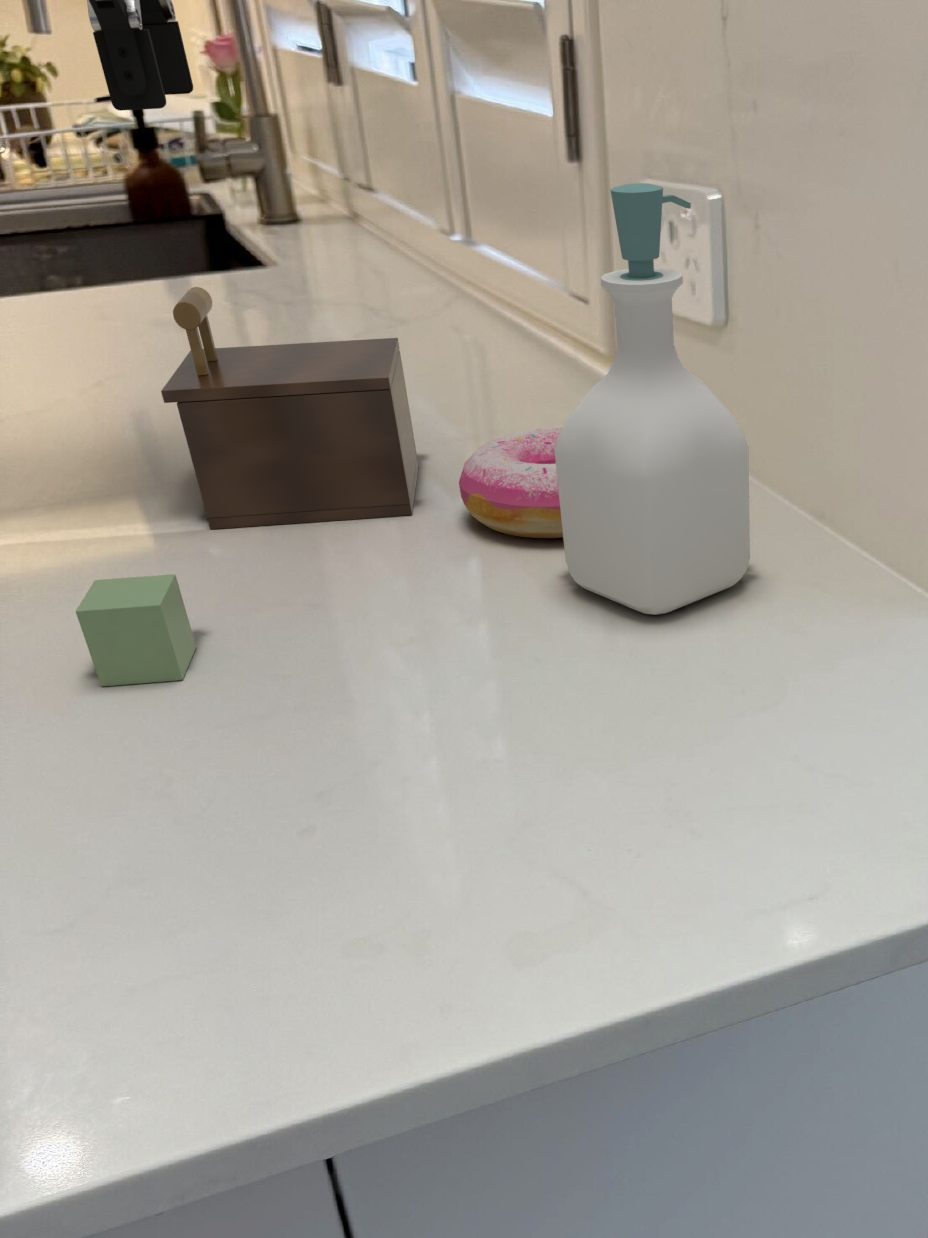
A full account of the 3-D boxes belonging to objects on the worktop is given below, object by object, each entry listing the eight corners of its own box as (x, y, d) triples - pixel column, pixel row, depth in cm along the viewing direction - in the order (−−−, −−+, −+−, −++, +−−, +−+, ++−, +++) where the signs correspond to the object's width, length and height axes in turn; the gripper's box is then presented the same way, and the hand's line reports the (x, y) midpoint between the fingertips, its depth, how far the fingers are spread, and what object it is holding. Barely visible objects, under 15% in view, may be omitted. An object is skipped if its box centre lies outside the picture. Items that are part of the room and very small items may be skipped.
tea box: (209, 529, 96) (176, 403, 91) (234, 478, 105) (204, 361, 100) (412, 515, 98) (390, 390, 92) (418, 466, 107) (399, 349, 101)
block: (101, 687, 76) (75, 611, 73) (118, 653, 80) (94, 579, 77) (182, 680, 77) (160, 604, 74) (196, 647, 80) (175, 573, 77)
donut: (518, 478, 104) (510, 411, 101) (675, 493, 100) (672, 425, 97) (432, 538, 94) (420, 466, 91) (603, 557, 90) (597, 484, 87)
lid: (164, 403, 91) (139, 314, 87) (193, 361, 100) (172, 279, 96) (390, 389, 92) (375, 301, 89) (399, 348, 101) (386, 267, 98)
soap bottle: (763, 585, 86) (761, 181, 72) (653, 631, 80) (627, 205, 66) (664, 548, 91) (644, 167, 77) (555, 589, 86) (512, 187, 72)
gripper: (39, -237, 82) (125, 92, 93) (-49, -270, 69) (64, 119, 79) (163, -240, 83) (234, 86, 93) (100, -274, 69) (192, 112, 80)
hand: (156, 101), depth 86 cm, fingers open, 9 cm apart
